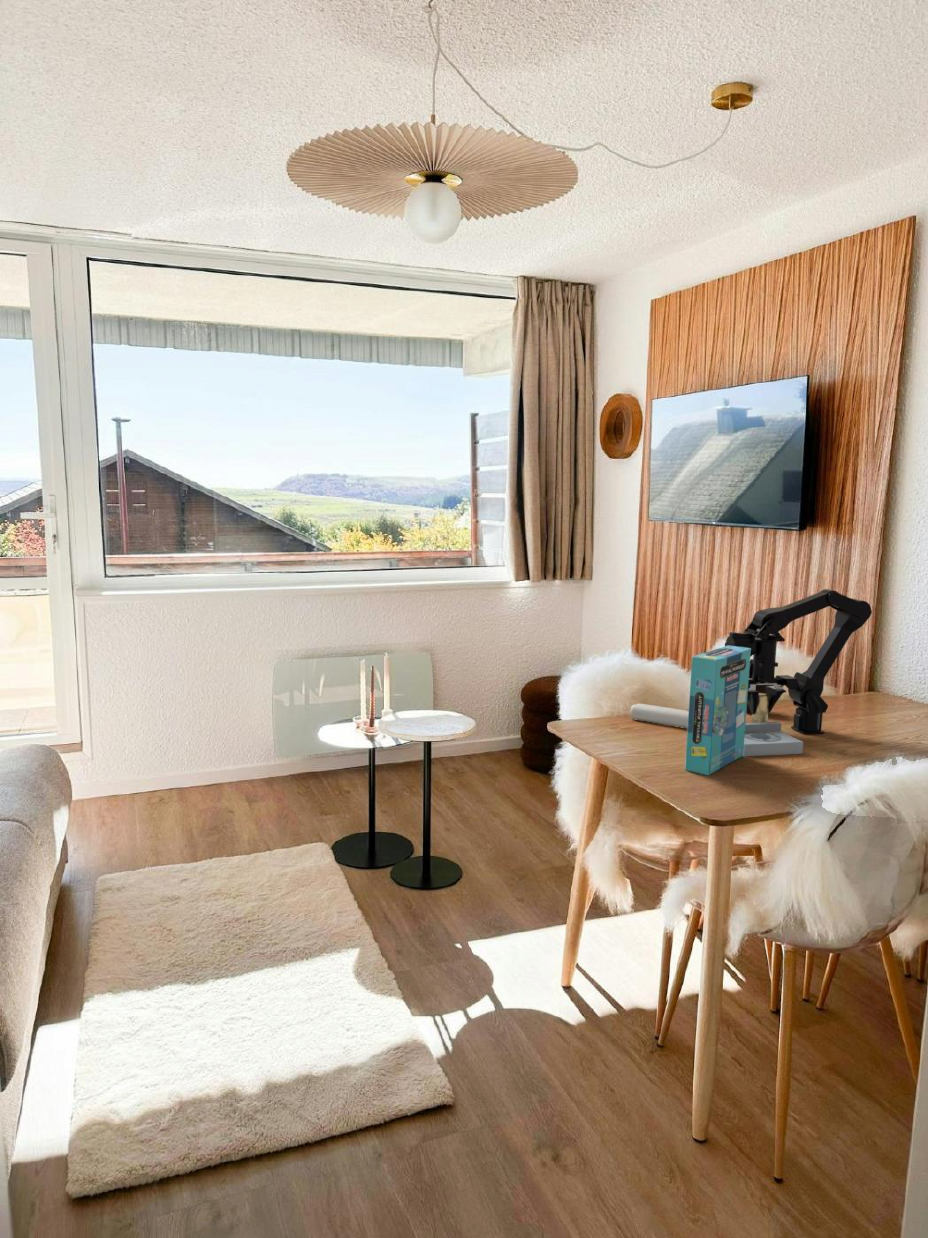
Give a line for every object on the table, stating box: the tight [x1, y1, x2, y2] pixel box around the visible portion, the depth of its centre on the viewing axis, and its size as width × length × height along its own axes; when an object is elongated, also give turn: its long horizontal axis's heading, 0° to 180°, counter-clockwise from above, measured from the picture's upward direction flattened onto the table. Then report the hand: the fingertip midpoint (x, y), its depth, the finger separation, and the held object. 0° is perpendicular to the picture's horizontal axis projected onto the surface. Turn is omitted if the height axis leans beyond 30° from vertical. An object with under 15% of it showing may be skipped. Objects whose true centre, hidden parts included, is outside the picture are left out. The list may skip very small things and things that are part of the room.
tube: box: [629, 702, 689, 729], centre depth 241 cm, size 5×5×25 cm
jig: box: [742, 721, 804, 757], centre depth 220 cm, size 16×12×5 cm
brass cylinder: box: [751, 693, 769, 723], centre depth 235 cm, size 4×4×8 cm
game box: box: [684, 645, 751, 776], centre depth 205 cm, size 20×6×27 cm, turn 141°
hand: (760, 714), depth 235 cm, fingers closed on brass cylinder, 4 cm apart
